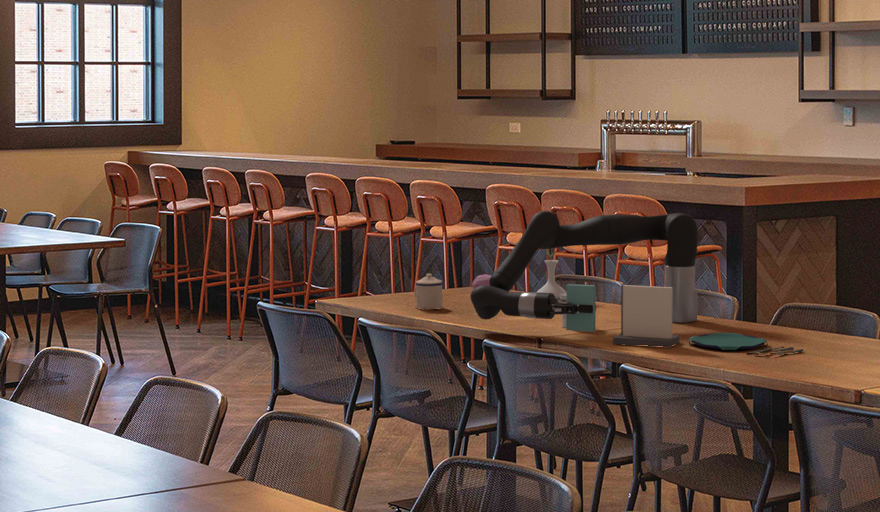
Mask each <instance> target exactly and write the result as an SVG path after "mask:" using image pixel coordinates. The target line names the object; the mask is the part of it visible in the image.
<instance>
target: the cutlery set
mask: <svg viewBox="0 0 880 512" xmlns="http://www.w3.org/2000/svg"><path fill="white" fill-rule="evenodd" d="M690 342H691V343H693V344H695V345H697V346H701V347H704V348H710V349H717V350H718V349H719V350H722V351H723V350H735V351H737V350H748V349H750V350H751V349H756V348H760V347H762V346H764V345H765V344H766V345H765V347H766V346H767V347H768V341H767V339H766V338H764V337H759V336H758V337H757V336H753V335H747V334H741V333H737V332H714V333H707V334H706V333H705V334H699V335H695V336H693V335H692V336H690V337H689V338H688V344H689V345H691V343H690ZM767 347H766V348H764V347H763V348H764V349H762V350H761V349H760V350H754V351H749V352H750V353H754V352H760V353H770V351H768V350H771V351H773V349H774V350H775V351H773V352H778V351H781V352H778V353H774V354H777V355H781V354H785V353H784V352H786V350H787V351H790V352H788V353H795V352H802V351H803V352H804V349H803V348H800V349H795V350H794V346H789V347H785V346H781V347H780V346H779V347H773V348H770V347H769V348H767ZM779 348H781V349H779ZM782 348H784V349H782ZM761 351H768V352H761ZM782 352H783V353H782ZM755 354H757V353H755Z"/></svg>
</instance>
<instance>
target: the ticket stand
mask: <svg viewBox="0 0 880 512" xmlns="http://www.w3.org/2000/svg"><path fill="white" fill-rule="evenodd" d="M620 291H621V293H620V297H621V299H620V301H621V302H620V303H621V304H620V308H621V309H620V315H621V316H620V324H621V325H620V331H621V333H619V334H617V335H615V336H613V341H612V343H613V344H625V345H624V346H626V345H648V346H663V347H670V346H672V345H674V344H676V343H678V342H679V343H680V334H679V335H677V334H673V322H672V294H673V287H665V286H654V285H653V286H651V285H634V284H633V285H632V284H631V285H630V284H623V285H621V289H620ZM679 343H678V344H679ZM676 345H677V344H676Z"/></svg>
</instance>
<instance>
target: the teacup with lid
mask: <svg viewBox="0 0 880 512" xmlns="http://www.w3.org/2000/svg"><path fill="white" fill-rule="evenodd" d="M415 285H416V286H415V287H414V296H415V298H416V309H417V308H421V309H436V308H441V309H442V308H443V280H441V279H438V278H436V277H435V276H433V273H426V275H425V276H423V277H422V278H421V279H418V280H416V281H415Z"/></svg>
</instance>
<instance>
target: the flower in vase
mask: <svg viewBox="0 0 880 512" xmlns="http://www.w3.org/2000/svg"><path fill="white" fill-rule="evenodd" d="M559 248H562V247H559ZM546 254H547V255H548V257H549V259H545V260H544V263H545V265H546V267H547V272H548V273H547V276H548V277H547V281H546V283H545V284H544V285H543V286H542V287H540V289H538V290H537V291H536V292H539V293H552V294H554V295H555V298H556V300H560V294H562V293H566V290H565V289H564V288H563V287H561V285H559V284H558V283H557V282H556V277H555V276H556V275H555V274H556V267H557V264H558V263H559V260H557V259H552V258H551V257H553V256H554V255H556V254H557V251H556V250H554V251H553V253H551V254H550V249H546Z"/></svg>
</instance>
